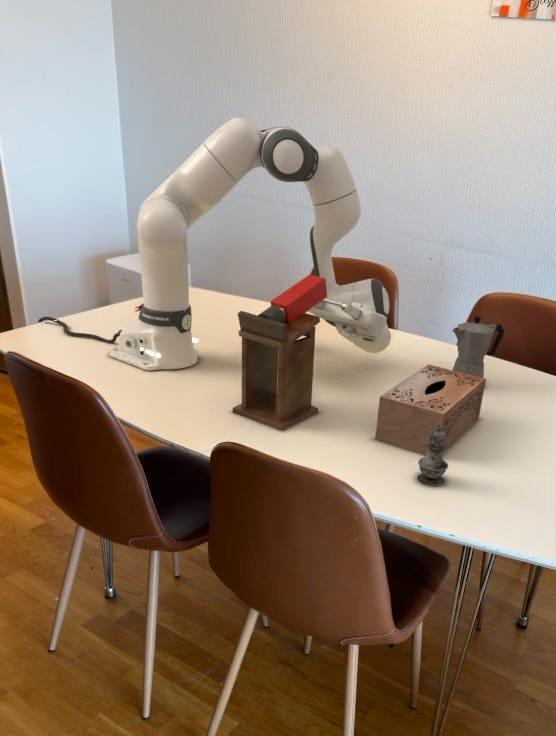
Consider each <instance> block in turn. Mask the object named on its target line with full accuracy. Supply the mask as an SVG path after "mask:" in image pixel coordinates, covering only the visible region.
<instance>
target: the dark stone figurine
mask: <svg viewBox="0 0 556 736" xmlns="http://www.w3.org/2000/svg"><path fill="white" fill-rule="evenodd" d="M440 427H441V425H440V424H439V425H438V427H437V428H433V429H432V430H431V433H430V440H429V443H427V447H428V450H427V455H425V456H424V457H421V458H420V459H419V460H418V461H417V463H418V465H419V466H418V468H419V472H420V474H418V475H417V481H418V482H419V483H420V484H422V485H425V486H428V487H438V486H442V485H443V484H444V483H445V479H444V477H443V476H444V474H445V473H446V471H447V469H448V468H449V463H448V461H446V460H445V459H443V456H444V452H443V450H444V449H445V448H446V447H445V445H444V441H445V435H446V432H445V430H444V429H442V428H440Z"/></svg>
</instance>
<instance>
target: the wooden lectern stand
mask: <svg viewBox="0 0 556 736" xmlns="http://www.w3.org/2000/svg"><path fill="white" fill-rule="evenodd" d="M237 318H238V323H239V328H240V330H238V331H237V332H238V336H239V337H241V403H240V404H237V405H235V406H233V407H232V413H234V414H236V415H239V416H241V417H245V418H247V419H250V420H252V421H255V422H257V423H260V424H262V425H265V426H268V427H271V428H273V429H276V430H279V431H281V432H282V431H284V430H286V429H288V428H290V427H291V426H294V425H296V424H298V423H300V422H302V421H305V420H306V419H308V418H310V417H312V416H315V415H316V414H319V407H317V406H315V405H312V399H313V382H314V381H313V380H314V364H315V347H316V329H317V328H316V326H317V325H318V324H319V323H321V318H320V317H318V316H315V315H313V314H312V313H307V312H306V313H305V314H303V315H302V316H301V317H299V318H298V319H296V320H295V321H294V322H292V323H291V324H290V325H288V324H285V323H281V322H278V321H275V320H271V319H268V318H264V317H261V316H258V315H257V314H254V313H250V312H246V311H243V310H240V311H239V312H237Z"/></svg>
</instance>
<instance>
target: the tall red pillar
mask: <svg viewBox="0 0 556 736" xmlns="http://www.w3.org/2000/svg"><path fill="white" fill-rule="evenodd" d="M326 297H327V290H326V279H325V278H322V277H318V276H316V275H314V274H307V275H306V276H305V277H303V278H302V279H300V280H299V281H298V282H296V283H295V284H293V285H292V286H290V287H289V288H288V289H286V290H285V291H284V292H282V293H280V294H279V295H278V296H276V297H274V298H273V299H272V300H270V306H269V307H267V308H266V309H265V310H263V311H262V312H260V313H259V314H258V315H257V316H261V317H264V318H268V319H271V320H275V321H278V322H281V323H285V324H288V325H290V324H291V323H292V322H294V321H295V320H296V319H298V318H299V317H301V316H302V315H303V314H305V313H307V312H308V311H309V310H310V309H311V308H313V307H314V306H315V305H317V304H318V303H320V302H321V301H322V300H324V299H325V298H326Z"/></svg>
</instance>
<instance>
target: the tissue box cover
mask: <svg viewBox="0 0 556 736" xmlns="http://www.w3.org/2000/svg"><path fill="white" fill-rule="evenodd" d="M486 381H487V378H485V377H484V378H481V377H477V376H473V375H469V374H465V373H461V372H457V371H453V369H449V368H446V367H441V366H437V365H433V364H429V363H428V364H426V365H425V366H423V367H422V368H421V369H419V370H417V371H416V372H415V373H413V374H412V375H410V376H409V377H407V378H406V379H404V380H403V381H401V382H399V383H398V384H397V385H395V386H394V387H391V388H390V389H389V390H387V391H386V392H384V393H383V394H382V395H380V396H379V401H378V412H377V420H376V428H375V438H374V440H375V441H377V442H381V443H384V444H388V445H391V446H394V447H396V448H401V449H403V450H407V451H411V452H414V453H417V454H419V455H420V454H421V455H422V456H426V455H427V450H428V447H427V443H429V440H430V433H431V430H432V429H433V428H437V427H438V425H439V424H440V425H441V427H440V428H442V429H444V430H445V432H446V435H445V441H444V445H445V447H446V448H445V449H444V450H443V453H445V451H446V450H447V449H448V448H449V447H450V446H452V445H453V444H454V443H455V442H456V441H457V440H458V439H459V438H460V437H461V436H462V435H463V434H465V433H466V431H468V430H469V429H470V428H471V427H472V426H473V425H474V424H475V423H476V422H477V421H479V419H480V412H481V408H482V402H483V397H484V393H485V392H484V391H485V386H486Z"/></svg>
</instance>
